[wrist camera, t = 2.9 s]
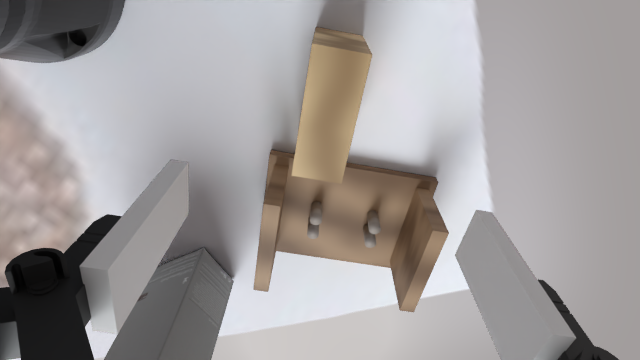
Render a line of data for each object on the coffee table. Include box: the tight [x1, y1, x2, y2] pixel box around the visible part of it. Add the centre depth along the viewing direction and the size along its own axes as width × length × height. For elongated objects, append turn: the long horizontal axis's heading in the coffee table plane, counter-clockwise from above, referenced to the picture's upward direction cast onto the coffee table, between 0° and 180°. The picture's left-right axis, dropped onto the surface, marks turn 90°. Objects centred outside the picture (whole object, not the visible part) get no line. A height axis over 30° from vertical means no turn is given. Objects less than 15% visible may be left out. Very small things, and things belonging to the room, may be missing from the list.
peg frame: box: [254, 150, 449, 312], centre depth 36 cm, size 12×17×8 cm
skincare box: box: [104, 248, 234, 360], centre depth 38 cm, size 8×7×16 cm
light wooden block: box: [291, 27, 372, 184], centre depth 30 cm, size 4×10×8 cm, turn 170°
